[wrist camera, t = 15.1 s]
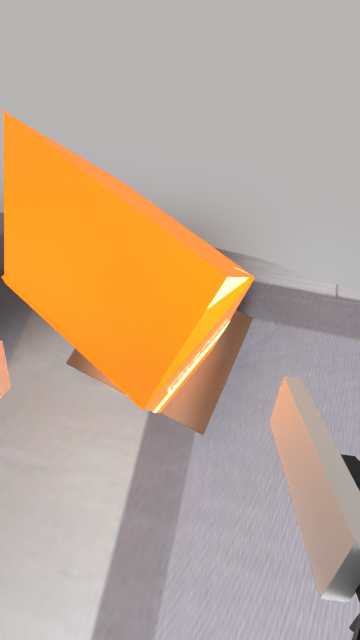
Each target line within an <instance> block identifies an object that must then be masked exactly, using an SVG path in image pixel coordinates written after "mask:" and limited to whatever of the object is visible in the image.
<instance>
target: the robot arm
mask: <svg viewBox="0 0 360 640" xmlns="http://www.w3.org/2000/svg"><path fill="white" fill-rule="evenodd" d="M10 388H11V384H10V379H9V374H8V368H7V363H6V358H5V353H4V347H3V342H2V340H0V398H1V397H2V396H3V395H4V394H5V393H6V392H7V391H8V390H9V389H10ZM270 425H271V429H272V432H273V436H274V439H275V443H276V446H277V450H278V453H279V457H280V460H281V463H282V467H283V470H284V474H285V477H286V481H287V484H288V488H289V491H290V495H291V498H292V502H293V505H294V509H295V512H296V516H297V519H298V523H299V526H300V530H301V533H302V537H303V540H304V544H305V547H306V551H307V554H308V558H309V561H310V565H311V568H312V572H313V575H314V579H315V582H316V586H317V589H318V593H319V596H320V599H326V600H333V601H339V602H346V603H348V602H349V601H350V599H351V598H352V597H353V595H354V594H355V592H356V594H357V596H358V599H359V601H360V461H359V460H358V459H357V458H356V457H355V456H349V455H341V454H340V453H339V451H338V449H337V447H336V445H335V443H334V441H333V439H332V437H331V435H330V434H329V432H328V430H327V428H326V426H325V424H324V422H323V420H322V418H321V416H320V414H319V412H318V411H317V409H316V407H315V405H314V403H313V401H312V399H311V397H310V395H309V393H308V391H307V390H306V388H305V386H304V384H303V382H302V380H301V378H293V377H286V376H284V377H283V380H282V383H281V387H280V390H279V393H278V396H277V400H276V403H275V406H274V409H273V413H272V416H271V419H270ZM349 628H350V629H351V630H352V631H353V632H354V634H353V638H352V640H360V613H359V615H358V616H357V617H356V619H355V620H354V621H353V623H352V624H351V626H350V627H349Z"/></svg>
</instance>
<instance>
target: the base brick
mask: <svg viewBox="0 0 360 640" xmlns="http://www.w3.org/2000/svg"><path fill="white" fill-rule="evenodd" d="M252 319H253V317H251V316H248V315H246V314H244V313H242V312H239V311H237V310H236V311H235V312H234V314H233V316H232V317H231V319H230V322H229V324H228V325H227V327H226V329H225V330H224V332H223V333H222V334H221V336H220V338H219V339H218V341H217V343H216V344H215V346H214V348H213V349H212V351H211V352H210V353H209V354H208V356H207V357H206V358H205V359H204V360H203V362H202V363H201V364H200V365H199V367H198V368H197V369H196V370H195V371H194V373H193V374H192V375H191V376H190V377H189V379H188V380H187V381H186V382H185V383H184V385H183V386H182V387H181V388H180V389H179V391H178V392H177V393H176V394H175V396H174V397H173V398H172V399H171V400H170V402H169V403H168V404H167V405H166V406H165V408H164V409H163V410H162V411H161V412H160V413H162V414H164V415H166V416H168V417H170V418H172V419H173V420H175V421H177V422H179V423H181V424H183V425H185V426H187V427H189V428H191V429H193V430H195V431H196V432H198V433H200V434H202V435H203V434H204V432H205V430H206V427H207V425H208V422H209V420H210V418H211V415H212V413H213V411H214V408H215V406H216V404H217V401H218V399H219V397H220V394H221V392H222V390H223V387H224V385H225V383H226V380H227V378H228V376H229V373H230V371H231V369H232V366H233V364H234V362H235V359H236V357H237V354H238V352H239V350H240V347H241V345H242V343H243V340H244V338H245V336H246V333H247V331H248V329H249V326H250V324H251V322H252ZM66 364H68V365H70V366H72V367H74V368H76V369H78V370H79V371H81V372H83V373H85V374H87V375H89V376H91V377H93V378H95V379H97V380H99V381H101V382H102V383H104V384H106V385H108V386H110V387H112V388H114V389H116V390H118V391H120V392H122V391H121V390H120V389H119V388H118V387H117V386H116V385H115V384H114V383H113V382H112V381H111V380H109V379H108V378H107V377H106V376H105V375H104V374H103V373H102V372H101V371H100V370H99V369H98V368H96V367H95V366H94V365H93V364H92V363H91V362H90V361H89V360H88V359H87V358H86V357H85V356H83V355H82V354H81V353H80V352H79V351H78V350H77V349H76V348H75V350H74V351H73V353H72V355H71V356H70V358H69V359H68V361H67V362H66ZM122 393H124V392H122ZM124 394H125V393H124ZM125 395H126V394H125Z"/></svg>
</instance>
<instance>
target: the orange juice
mask: <svg viewBox="0 0 360 640" xmlns="http://www.w3.org/2000/svg"><path fill="white" fill-rule="evenodd" d="M3 112H4V111H3ZM1 278H2V279H3V280H4V283H5V284H7V285H8V286H9V287H10V288H11V289H12V290H13V291H14V292H15V293H16V294H17V295H18V296H20V297H21V298H22V299H23V300H24V301H25V302H26V303H27V304H28V305H29V306H30V307H31V308H33V309H34V310H35V311H36V312H37V313H38V314H39V315H40V316H41V317H42V318H43V319H44V320H46V321H47V322H48V323H49V324H50V325H51V326H52V327H53V328H54V329H55V330H56V331H57V332H59V333H60V334H61V335H62V336H63V337H64V338H65V339H66V340H67V341H68V342H69V343H70V344H72V345H73V346H74V347H75V348H76V349H77V350H78V351H79V352H80V353H81V354H82V355H83V356H85V357H86V358H87V359H88V360H89V361H90V362H91V363H92V364H93V365H94V366H95V367H96V368H98V369H99V370H100V371H101V372H102V373H103V374H104V375H105V376H106V377H107V378H108V379H109V380H111V381H112V382H113V383H114V384H115V385H116V386H117V387H118V388H119V389H120V390H121V391H122V392H124V393H125V394H126V395H127V396H128V397H129V398H130V399H131V400H132V401H133V402H134V403H135V404H137V405H138V406H139V407H140V408H141V409H142V410H143V408H144V409H147V410H150V411H153V412H154V413H160V412H161V411H162V410H163V409H164V408H165V406H166V405H167V404H168V403H169V402H170V400H171V399H172V398H173V397H174V396H175V394H176V393H177V392H178V391H179V389H180V388H181V387H182V386H183V385H184V383H185V382H186V381H187V380H188V379H189V377H190V376H191V375H192V374H193V373H194V371H195V370H196V369H197V368H198V367H199V365H200V364H201V363H202V362H203V360H204V359H205V358H206V357H207V356H208V354H209V353H210V352H211V351H212V349H213V348H214V346H215V344H216V343H217V341H218V339H219V338H220V336H221V334H222V333H223V332H224V330H225V329H226V327H227V325H228V324H229V322H230V319H231V317H232V316H233V314H234V312H235V311H236V309H237V307H238V306H239V304H240V302H241V300H242V299H243V297H244V295H245V294H246V292H247V290H248V289H249V287H250V285H251V284H252V282H253V280H254V278H253V276H252V275H251V274H249V273H248V272H246V271H245V270H244V269H242V268H241V267H240V266H238V265H237V264H235V263H234V262H233V261H231V260H230V259H228V258H227V257H226V256H224V255H223V254H222V253H220V252H219V251H217V250H216V249H215V248H213V247H212V246H210V245H209V244H208V243H206V242H205V241H203V240H202V239H201V238H199V237H198V236H196V235H195V234H194V233H192V232H191V231H190V230H188V229H187V228H185V227H184V226H183V225H181V224H180V223H179V222H177V221H176V220H174V219H173V218H172V217H170V216H169V215H167V214H166V213H165V212H163V211H162V210H160V209H159V208H158V207H156V206H155V205H154V204H152V203H151V202H150V201H148V200H147V199H145V198H144V197H143V196H141V195H140V194H138V193H137V192H136V191H134V190H133V189H131V188H130V187H129V186H127V185H126V184H125V183H123V182H122V181H120V180H118V179H117V178H115V177H113V176H112V175H110V174H108V173H107V172H105V171H103V170H102V169H100V168H98V167H96V166H95V165H93V164H91V163H90V162H88V161H86V160H85V159H83V158H81V157H80V156H78V155H76V154H74V153H73V152H71V151H70V150H68V149H66V148H64V147H63V146H61V145H59V144H57V143H56V142H54V141H53V140H51V139H49V138H47V137H46V136H44V135H43V134H41V133H39V132H37V131H36V130H34V129H32V128H31V127H29V126H27V125H26V124H24V123H22V122H21V121H19V120H17V119H15V118H14V117H12V116H10V115H9V114H7V113H5V112H4V275H3V276H2V277H1Z"/></svg>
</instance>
